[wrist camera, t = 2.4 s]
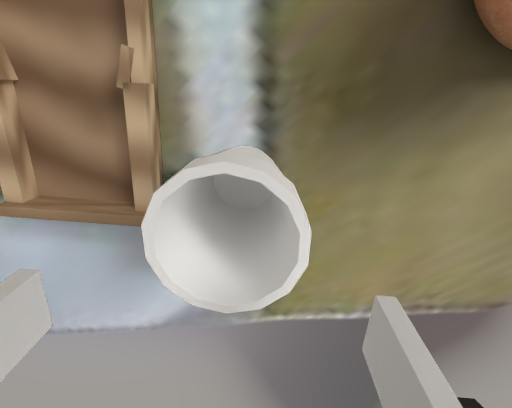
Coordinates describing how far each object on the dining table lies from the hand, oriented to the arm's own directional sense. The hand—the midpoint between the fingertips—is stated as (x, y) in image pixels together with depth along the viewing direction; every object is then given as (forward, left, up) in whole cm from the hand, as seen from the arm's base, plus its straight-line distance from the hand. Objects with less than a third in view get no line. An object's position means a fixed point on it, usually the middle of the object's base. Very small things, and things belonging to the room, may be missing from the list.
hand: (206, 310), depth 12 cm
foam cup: (0, 0, -18) cm, 18 cm away
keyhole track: (-8, -15, -18) cm, 25 cm away
